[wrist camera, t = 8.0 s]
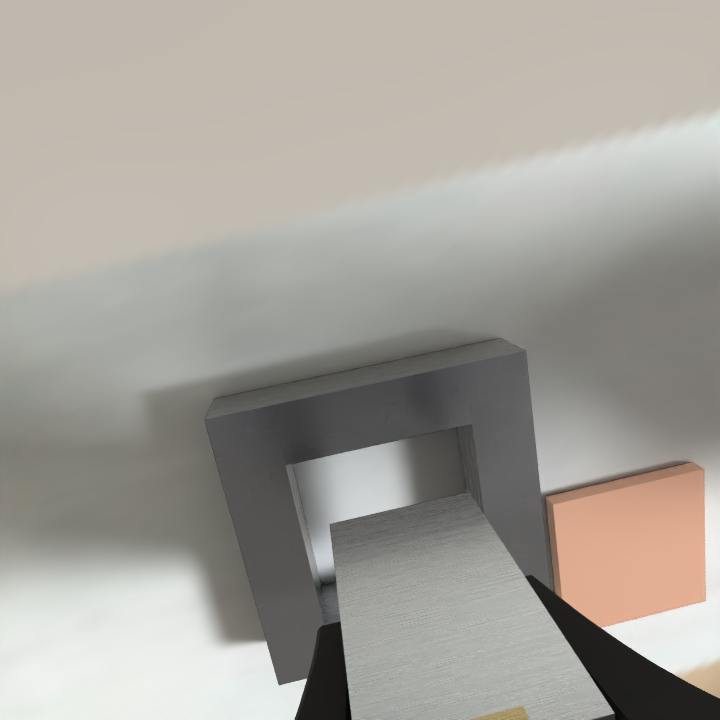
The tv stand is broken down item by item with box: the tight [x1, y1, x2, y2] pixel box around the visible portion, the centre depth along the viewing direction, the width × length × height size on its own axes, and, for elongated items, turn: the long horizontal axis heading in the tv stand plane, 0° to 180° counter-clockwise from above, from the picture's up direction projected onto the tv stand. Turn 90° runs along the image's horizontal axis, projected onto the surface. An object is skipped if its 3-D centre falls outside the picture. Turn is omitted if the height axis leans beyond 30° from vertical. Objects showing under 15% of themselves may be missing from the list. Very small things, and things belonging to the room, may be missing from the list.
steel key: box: [330, 492, 615, 720], centre depth 11 cm, size 5×4×8 cm
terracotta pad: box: [546, 462, 706, 628], centre depth 21 cm, size 6×6×1 cm
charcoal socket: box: [204, 338, 551, 685], centre depth 18 cm, size 10×10×2 cm
